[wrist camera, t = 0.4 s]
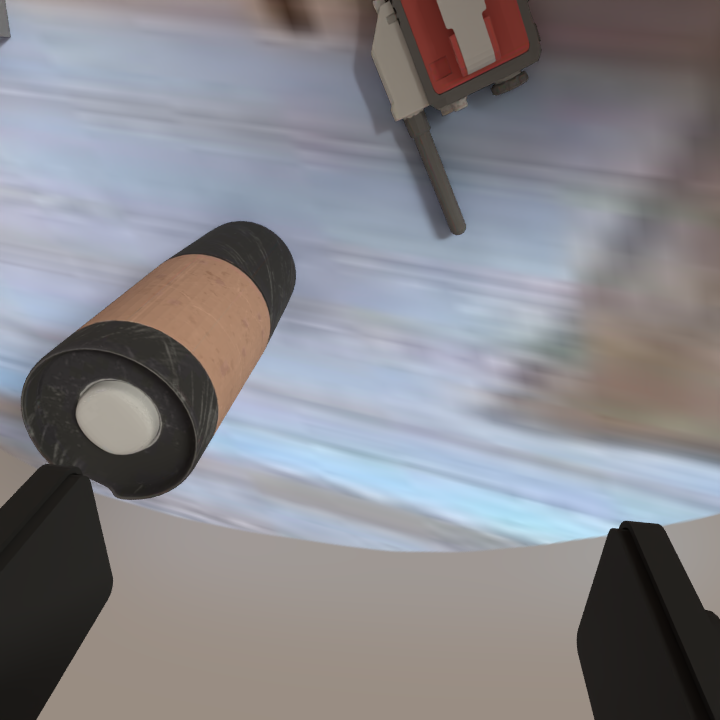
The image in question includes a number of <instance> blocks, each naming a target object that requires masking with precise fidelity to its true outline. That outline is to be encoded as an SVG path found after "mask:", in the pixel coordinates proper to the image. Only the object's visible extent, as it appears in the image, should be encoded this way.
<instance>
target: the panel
mask: <svg viewBox="0 0 720 720" xmlns="http://www.w3.org/2000/svg"><path fill="white" fill-rule="evenodd" d="M0 37H11V36H10V30H9V24H8V17H7V11H6V5H5V0H0Z"/></svg>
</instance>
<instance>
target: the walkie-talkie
mask: <svg viewBox="0 0 720 720" xmlns="http://www.w3.org/2000/svg"><path fill="white" fill-rule="evenodd" d="M391 1H392V2H393V3H391ZM391 1H388V2H386V1H385V0H375V1H373V2H372V3H373V5H374V8H375V10H376V13H377V15H378V18H377V23H376V29H375V34H374V39H373V44H372V50H371V56H372V58H373V61H374V63H375V66H376V68H377V71H378V73H379V76H380V78H381V81H382V83H383V86H384V88H385V91H386V93H387V96H388V98H389V101H390V103H391V113H392V115H393V117H394V120H395V122H396V121H399V120H401V119H403V120H404V122H405V125H406V127H407V129H408V132H409V134H410V136H411V138H414V141H415V143H416V146H417V148H418V151H419V153H420V156H421V158H422V161H423V163H424V166H425V168H426V171H427V173H428V176H429V178H430V181H431V183H432V186H433V188H434V191H435V193H436V195H437V198H438V200H439V203H440V205H441V208H442V210H443V213H444V215H445V218H446V220H447V223H448V225H449V228H450V230H451V232H452V233H453V234H455V235H461V234H462V233H463V232H464V231H465V229H466V224H465V221H464V219H463V216H462V214H461V211H460V208H459V206H458V203H457V201H456V198H455V196H454V193H453V190H452V188H451V185H450V183H449V180H448V178H447V175H446V172H445V170H444V167H443V165H442V162H441V159H440V157H439V154H438V152H437V149H436V147H435V144H434V141H433V139H432V136H431V134H430V131H429V130H430V125H429V122H428V120H427V117H426V114H425V112H424V108H425V107H427V106H429V105H431V106H432V107H434V108H436V109H437V110H441V113H442V116H444V115H447V114H449V113H451V112H453V111H454V110H455V112H456V111H459V110H461V109H463V108H465V107H467V106H468V104H467V100H466V99H467V96H468V95H470V94H472V93H474V92H476V91H478V90H480V89H482V88H484V87H486V86H488V85H490V84H492V83H495V85H493V86H492V88H491V90H492V93H493V95H495V96H497V95H500V94H503V93H505V92H508V91H510V90H512V89H514V88H516V87H518V86H520V85H522V84H523V83H525V82H527V80H528V75H527V73H526V72H525V71H522V72H521V69H523V68H525V67H527V66H529V65H531V64H533V63H535V62H537V61H538V60H539V57H540V53H541V47H540V43H539V41H541V40H540V37H539V33H538V30H537V26H536V24H535V23H533V20H532V16H531V13H530V10H529V6H528V1H529V0H391ZM395 11H396V12H397V14H396V12H395ZM399 21H400V23H401V24H400V23H399Z"/></svg>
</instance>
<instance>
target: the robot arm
mask: <svg viewBox="0 0 720 720" xmlns="http://www.w3.org/2000/svg"><path fill="white" fill-rule="evenodd" d="M112 586H113V576H112V572H111V568H110V563H109V559H108V555H107V550H106V546H105V542H104V537H103V533H102V529H101V525H100V521H99V516H98V512H97V507H96V503H95V499H94V494H93V490H92V486H91V482H90V479H89V478H88V477H87V476H84V475H83V473H82V471H81V469H80V468H79V467H74V466H64V465H54V464H45V465H42V466H41V467H40V468H39V469H38V470H37V471H36V472H35V473H34V474H33V475H32V476H31V477H30V478H29V479H28V480H27V481H26V482H25V483H24V484H23V485H22V486H21V487H20V488H19V489H18V491H17V492H16V493H15V494H14V495H13V496H12V497H11V498H10V499H9V500H8V501H7V502H6V503H5V504H4V505H3V506H2V507H1V508H0V720H36V719H37V717H38V716H39V714H40V712H41V711H42V709H43V707H44V706H45V704H46V702H47V701H48V699H49V697H50V696H51V694H52V692H53V691H54V689H55V687H56V686H57V684H58V682H59V681H60V679H61V677H62V676H63V673H64V672H65V671H66V668H67V667H68V665H69V664H70V662H71V660H72V659H73V657H74V655H75V654H76V652H77V650H78V649H79V647H80V645H81V644H82V642H83V640H84V639H85V637H86V635H87V634H88V632H89V630H90V628H91V627H92V625H93V624H94V622H95V620H96V619H97V617H98V615H99V614H100V612H101V610H102V608H103V607H104V605H105V603H106V602H107V600H108V598H109V596H110V594H111V590H112ZM577 650H578V655H579V659H580V663H581V667H582V671H583V675H584V679H585V683H586V687H587V691H588V695H589V699H590V703H591V707H592V711H593V715H594V719H595V720H720V619H719V617H718V616H717V615H715V614H714V613H713V612H712V611H708V610H705V609H704V608H703V606H702V603H701V601H700V599H699V597H698V595H697V594H696V591H695V589H694V588H693V585H692V583H691V581H690V579H689V577H688V576H687V573H686V571H685V570H684V567H683V565H682V563H681V562H680V559H679V558H678V555H677V554H676V552H675V550H674V547H673V545H672V544H671V542H670V539H669V538H668V536H667V533H666V531H665V530H664V528H663V527H662V526H661V525H659V524H654V523H643V522H633V521H623V522H622V523H621V525H620V527H619V529H616V528H611V529H610V531H609V533H608V536H607V540H606V542H605V545H604V548H603V552H602V555H601V558H600V561H599V565H598V568H597V571H596V574H595V577H594V580H593V584H592V587H591V590H590V593H589V597H588V600H587V603H586V606H585V610H584V612H583V615H582V619H581V622H580V625H579V628H578V633H577Z"/></svg>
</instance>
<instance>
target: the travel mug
mask: <svg viewBox="0 0 720 720" xmlns="http://www.w3.org/2000/svg"><path fill="white" fill-rule="evenodd" d="M295 280H296V270H295V264H294V261H293V257H292V255H291V253H290V251H289V249H288V248H287V246H286V245H285V243H284V242H283V241H282V240H281V239H280V238H279V237H278V236H277V235H276V234H275V233H274V232H272V231H271V230H269V229H267V228H266V227H264V226H261V225H259V224H256V223H252V222H245V221H237V222H230V223H226V224H224V225H221V226H219V227H217V228H215V229H214V230H212V231H210V232H209V233H207V234H206V235H204V236H203V237H201V238H200V239H198V240H197V241H195V242H194V243H192V244H191V245H189V246H188V247H186V248H185V249H183V250H181V251H180V252H178V253H177V254H175V255H174V256H172V257H171V258H169V259H168V260H166V261H165V262H164V263H162V264H161V265H159V266H158V267H157V268H156V269H154V270H153V271H152V272H151V273H149V274H148V275H147V276H145V277H144V278H143V279H142V280H140V281H139V282H138V283H137V284H135V285H134V286H133V287H132V288H130V289H129V290H128V291H126V292H125V293H124V294H123V295H121V296H120V297H119V298H118V299H116V300H115V301H114V302H112V303H111V304H110V305H109V306H107V307H106V308H105V309H104V310H102V311H101V312H100V313H99V314H97V315H96V316H95V317H93V318H92V319H91V320H90V321H88V322H87V323H86V324H85V325H83V326H82V327H81V328H80V329H78V330H77V331H76V332H74V333H73V334H72V335H71V336H69V337H68V338H67V339H66V340H64V341H63V342H62V343H60V344H59V345H58V346H57V347H55V348H54V349H53V350H52V351H50V352H49V353H48V354H47V355H45V356H44V357H43V358H42V359H41V360H40V361H39V362H38V363H37V364H36V365H35V366H34V367H33V368H32V370H31V371H30V373H29V375H28V376H27V378H26V381H25V383H24V386H23V390H22V396H21V410H22V417H23V420H24V424H25V427H26V429H27V432H28V434H29V436H30V438H31V440H32V441H33V443H34V445H35V446H36V448H37V449H38V451H39V452H40V453H41V455H42V456H43V457H44V458H45V459H46V460H47V462H48V463H49V464H54V465H64V466H74V467H79V468H80V469H81V471H82V473H83V475H84V476H87V477H88V478H89V479H91V480H94V481H96V482H98V483H100V484H102V485H104V486H106V487H108V488H109V489H110V490H111V491H112V493H113V495H114V496H115V497H117V498H120V499H127V500H137V499H146V498H152V497H156V496H159V495H162V494H164V493H167V492H169V491H171V490H172V489H174V488H176V487H177V486H178V485H180V484H181V483H182V482H183V481H184V480H185V479H186V478H187V477H188V476H189V474H190V473H191V472H192V471H193V469H194V468H195V466H196V464H197V463H198V461H199V459H200V458H201V456H202V454H203V453H204V451H205V449H206V447H207V446H208V444H209V442H210V441H211V439H212V437H213V436H214V434H215V432H216V431H217V429H218V427H219V426H220V424H221V422H222V421H223V419H224V417H225V416H226V414H227V412H228V411H229V409H230V407H231V406H232V404H233V402H234V401H235V399H236V397H237V395H238V394H239V392H240V390H241V389H242V387H243V385H244V384H245V382H246V380H247V379H248V377H249V375H250V374H251V372H252V370H253V369H254V367H255V365H256V364H257V362H258V360H259V359H260V357H261V355H262V354H263V352H264V350H265V348H266V346H267V344H268V342H269V340H270V338H271V336H272V334H273V332H274V330H275V328H276V326H277V324H278V322H279V320H280V318H281V316H282V314H283V312H284V310H285V308H286V306H287V304H288V302H289V299H290V297H291V295H292V292H293V290H294V286H295Z"/></svg>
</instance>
